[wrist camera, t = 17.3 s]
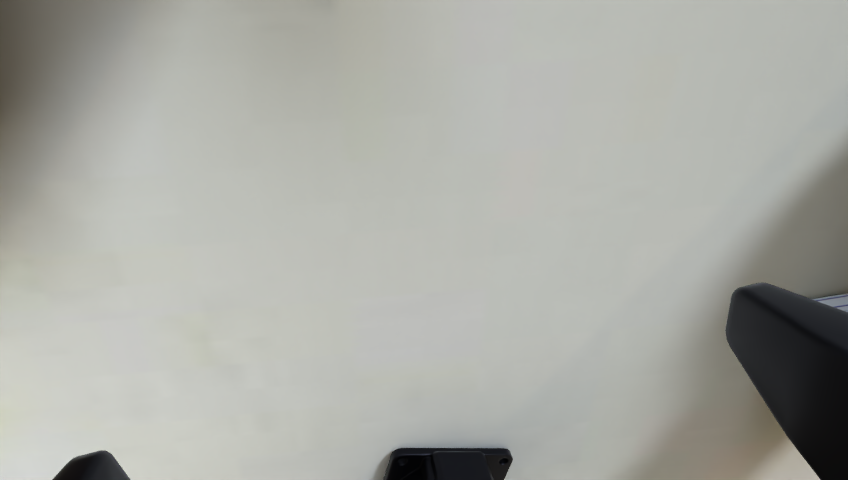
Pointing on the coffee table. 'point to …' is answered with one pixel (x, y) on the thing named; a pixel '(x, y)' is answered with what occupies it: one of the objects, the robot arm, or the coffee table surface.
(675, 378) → the coffee table surface
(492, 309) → the coffee table surface
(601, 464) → the coffee table surface
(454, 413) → the coffee table surface
